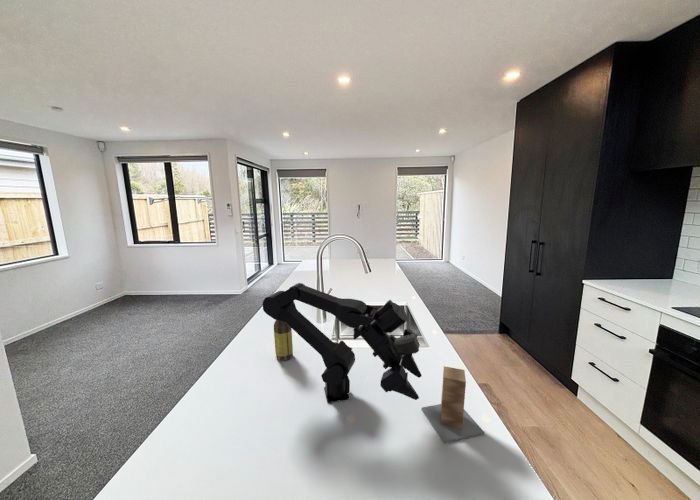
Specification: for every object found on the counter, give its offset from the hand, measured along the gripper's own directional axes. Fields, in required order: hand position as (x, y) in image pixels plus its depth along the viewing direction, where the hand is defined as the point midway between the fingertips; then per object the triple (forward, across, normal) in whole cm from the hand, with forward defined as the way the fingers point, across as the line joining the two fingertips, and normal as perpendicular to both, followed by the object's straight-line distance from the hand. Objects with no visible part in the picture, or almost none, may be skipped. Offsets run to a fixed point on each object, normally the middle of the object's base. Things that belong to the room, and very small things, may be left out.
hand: (419, 387), depth 71 cm
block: (+11, 0, -1) cm, 11 cm away
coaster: (+12, 0, 0) cm, 12 cm away
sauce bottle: (-28, +12, +41) cm, 51 cm away
